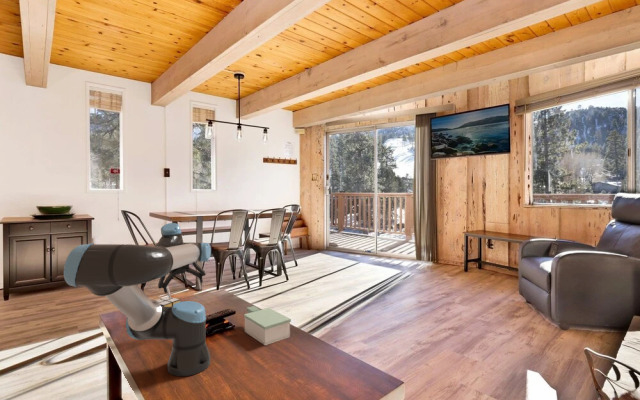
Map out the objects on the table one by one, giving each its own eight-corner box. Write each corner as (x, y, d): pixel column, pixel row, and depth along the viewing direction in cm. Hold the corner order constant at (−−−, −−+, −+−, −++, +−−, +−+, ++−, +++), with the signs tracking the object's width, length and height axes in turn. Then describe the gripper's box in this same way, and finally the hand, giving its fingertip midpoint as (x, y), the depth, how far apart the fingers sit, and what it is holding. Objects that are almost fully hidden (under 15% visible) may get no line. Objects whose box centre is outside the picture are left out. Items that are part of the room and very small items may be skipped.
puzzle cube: (150, 321, 168) (150, 301, 167) (167, 314, 177) (167, 296, 176) (163, 325, 163) (163, 305, 163) (180, 318, 172) (180, 299, 172)
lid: (290, 323, 151) (290, 318, 151) (264, 332, 142) (265, 326, 142) (262, 308, 170) (262, 303, 170) (237, 315, 161) (237, 310, 161)
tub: (289, 336, 152) (289, 321, 151) (265, 345, 143) (265, 329, 143) (268, 324, 165) (268, 310, 165) (244, 331, 157) (244, 316, 156)
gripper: (204, 244, 154) (211, 279, 164) (145, 258, 144) (155, 295, 154) (207, 252, 148) (214, 289, 158) (145, 269, 138) (156, 306, 148)
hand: (185, 292), depth 156 cm, fingers open, 13 cm apart
